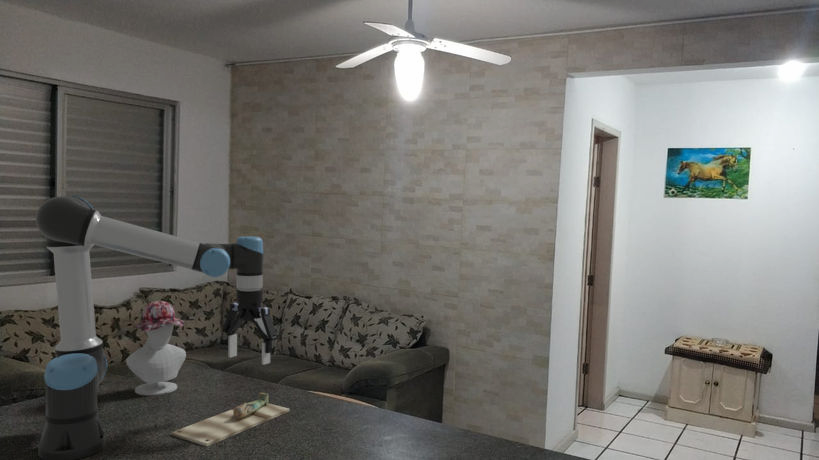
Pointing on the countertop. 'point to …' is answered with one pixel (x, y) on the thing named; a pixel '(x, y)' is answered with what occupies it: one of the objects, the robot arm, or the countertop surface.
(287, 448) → the countertop surface
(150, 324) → the bust with hat
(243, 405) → the figurine
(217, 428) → the board
